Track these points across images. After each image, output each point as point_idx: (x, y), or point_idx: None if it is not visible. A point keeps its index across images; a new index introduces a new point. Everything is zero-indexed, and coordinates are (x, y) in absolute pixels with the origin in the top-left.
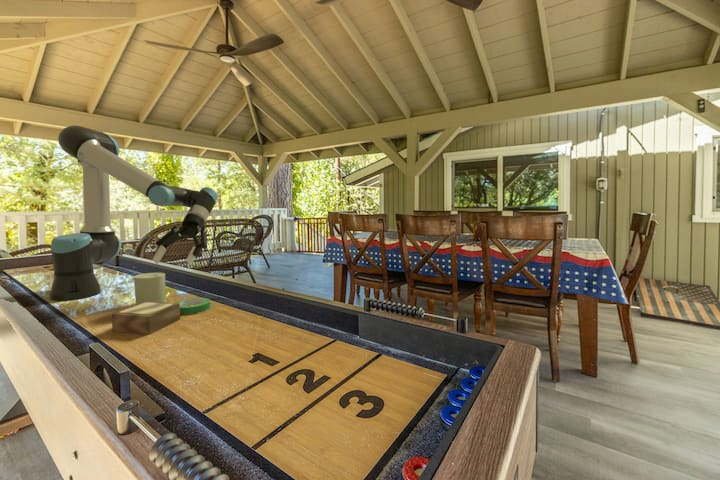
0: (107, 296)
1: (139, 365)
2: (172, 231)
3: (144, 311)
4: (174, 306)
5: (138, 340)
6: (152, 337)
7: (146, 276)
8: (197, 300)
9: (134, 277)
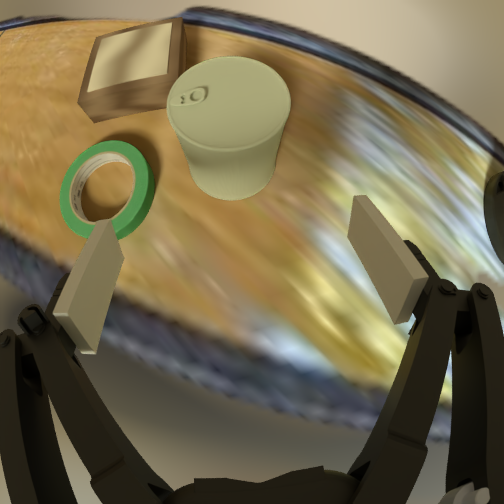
0: (459, 230)
1: (70, 21)
2: (483, 459)
3: (119, 41)
4: (81, 89)
5: None
6: None
7: (225, 83)
8: None
9: (253, 59)
